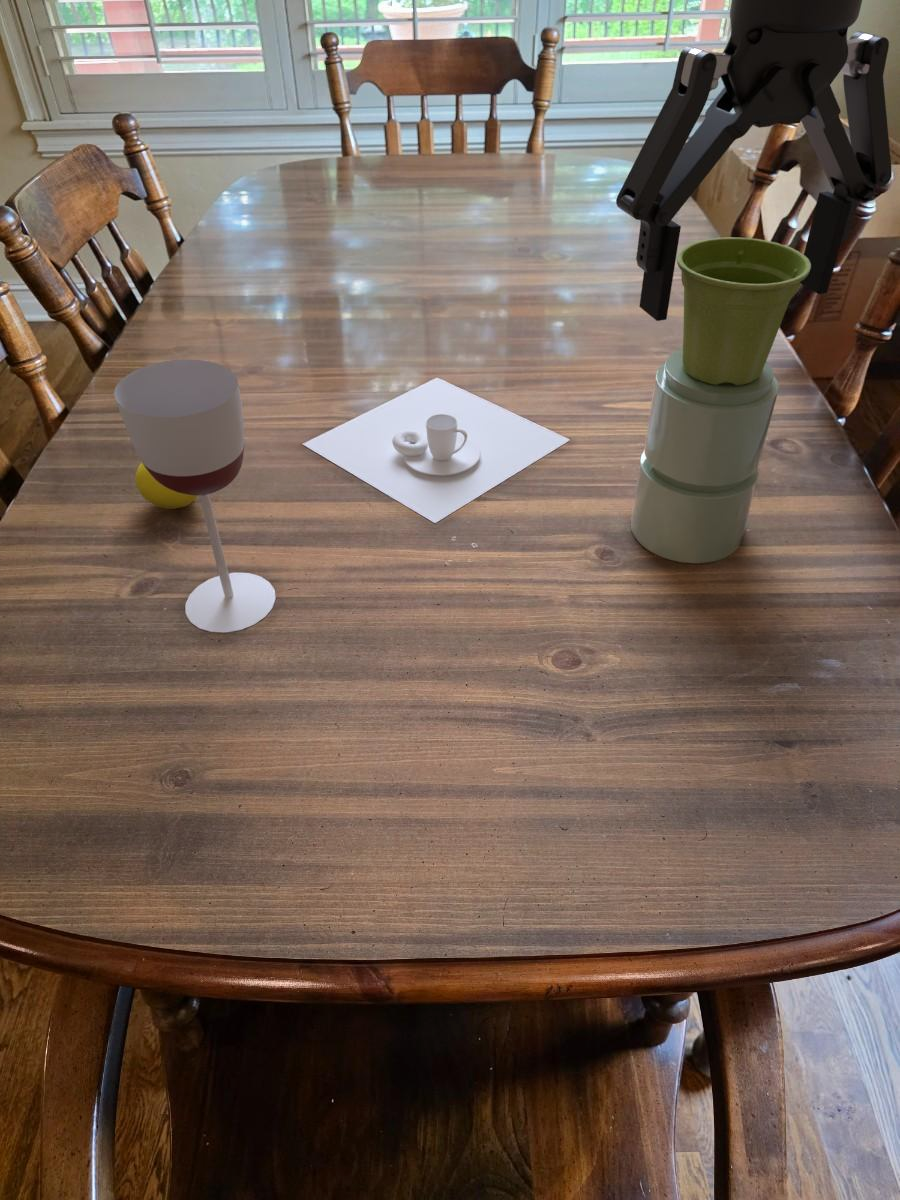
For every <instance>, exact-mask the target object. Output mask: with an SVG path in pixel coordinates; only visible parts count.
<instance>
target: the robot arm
mask: <svg viewBox="0 0 900 1200" xmlns="http://www.w3.org/2000/svg"><path fill="white" fill-rule="evenodd" d="M862 4H863V0H731V4H730V7H729V8H730V9H729V19H730V36H729V39H728V41H727V43H726V46H725V48H724V50H723V51H722V52H715V51H706V50H703V49H701V48H697V47H694V46H691V45H689V46H686V47H684V48H683V49H682V50H681V51H680V53H679V56H678V60H677V64H676V69H675V73H674V78H673V83H672V87H671V89H670V92H669V94H668V95H667V97H666V99H665V101H664V103H663V105H662V107H661V109H660V111H659V113H658V115H657V117H656V119H655V121H654V123H653V125H652V127H651V129H650V131H649V132H648V134H647V137H646V139H645V141H644V143H643V145H642V147H641V148H640V151H639V153H638V155H637V157H636V159H635V161H634V163H633V165H632V167H631V168H630V170H629V172H628V175H627V177H626V178H625V180H624V183H623V184H622V186H621V188H620V190H619V192H618V194H617V196H616V199H615V200H616V201H615V205H616V207H617V208H619V209H620V210H621V211H623V212H624V213H626V215H629V216H630V217H631V218H633V219H635V220H637V221H639V223H640V225H639V232H638V233H639V234H638V242H637V248H636V249H637V251H636V258H635V260H636V265H637V267H639V268H640V269H642V270H643V275H642V276H643V277H642V284H641V291H640V300H639V305H638V307H639V308H640V309H641V310H642V311H644V312H645V313H646V314H648V315H649V316H650V317H651V318H653V319H654V320H655V321H656V322H660V321H666V320H667V318H668V312H669V305H670V300H671V293H672V287H673V280H674V273H675V266H676V262H677V256H678V247H679V241H680V236H681V235H680V234H681V229H682V226H681V225H679V224H678V223H677V222H675V221H673V219H674V217H675V216H676V215H677V214H678V212H679V211H680V210H681V209H682V207H683V206H684V205H685V203H687V201H688V200H689V199H690V198H691V196H693V194H694V192H695V191H696V190H697V189H698V187H699V186H700V185H701V184H702V182H703V181H704V180H705V178H706V177H707V176H708V175H709V173H710V172H711V171H712V170H713V169H714V167H715V166H716V165H717V163H718V162H719V161H720V160H721V158H722V157H723V156H724V154H725V153H726V152H727V151H728V150H729V149H730V147H731V146H732V144H733V143H734V142H735V141H736V140H739V139H740V138H742V137H744V136H746V134H747V133H748V132H749V131H750V129H751V128H752V127H753V126H754V127H757V128H759V129H760V128H761V129H762V128H769V127H772V126H774V125H776V124H778V123H784V124H788V125H793V124H794V125H795V124H802V126H803V128H804V131H805V132H806V134H807V137H808V139H809V141H810V144H811V145H812V148H813V150H814V152H815V154H816V156H817V159H818V161H819V164H820V165H821V167H822V169H823V172H824V174H825V177H826V178H827V180H828V182H829V186H830V187H831V189H832V190H833V192H831V191H828V190H827V191H819V192H818V196H817V200H816V204H815V208H814V212H813V216H812V219H811V223H810V229H809V231H808V236H807V240H806V244H805V248H804V252H803V255H804V256H806V257H807V258H808V259H809V261H810V263H811V269H810V272H809V274H808V276H807V277H806V278H805V279H804V280H802V281H801V282H800V284H801V285H802V286H804V287H806V288H808V290H811V291H812V292H814V293H815V294H817V295H823V294H828V290H829V287H830V283H831V281H832V277H833V273H834V270H835V267H836V262H837V259H838V256H839V251H840V248H841V244H845V243H846V242H847V240H848V238H849V237H850V233H851V230H852V227H853V224H854V219H855V216H856V213H857V210H858V205H859V202H860V203H863V204H865V203H868V202H869V201H871V200H872V198H874V195H875V192H876V189H875V188H876V187H879V188H883V187H885V186H887V185H888V184H889V182H890V181H891V179H892V175H893V170H892V159H891V149H890V137H889V127H888V116H887V105H886V95H885V93H886V92H885V83H884V74H885V68H886V64H887V57H888V52H889V47H890V42H889V39H888V38H887V37H886V36H881V35H877V34H872V33H869V32H864V31H855V32H854V33H853V34H851V36H850V37H849V39H848V30H849V28H850V27H852V26H853V25H854V24H855V23H856V22H857V20H858V18H859V16H860V12H861V7H862ZM841 72H842V74H843V76H842V81H843V91H844V100H845V107H846V117H847V123H848V124H847V125H848V132H849V137H848V135H847V132H846V129H845V127H844V125H843V123H842V120H841V118H840V114H841V108H840V106H839V103H838V101H837V99H836V96H835V93H834V92H833V89H832V86H831V84H833V82H834V80H835V79H836V78H837V77H838V75H839V74H840V73H841ZM719 79H721V81H722V84H723V86H724V87H723V88H722V89H721V90H720V92H719V93H718V95H716V97H715V99H714V100H713V101H712V102H711V104H710V105H709V106H708V107H707V109H706V111H705V113H704V119H703V121H702V122H701V123H700V125H699V126H698V127H697V129H696V130H695V132H693V129H694V127H695V126H696V123H697V122H698V120H699V118H700V117H701V115H702V113H703V110H704V108H705V106H706V103H707V101H708V98H709V96H710V92H711V91H712V90H716V89H717V88H718V86H719ZM732 110H733V111H734V113H732ZM692 132H693V133H692ZM691 133H692V135H691ZM690 135H691V136H690ZM689 137H690V138H689Z"/></svg>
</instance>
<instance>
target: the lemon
mask: <svg viewBox="0 0 900 1200" xmlns="http://www.w3.org/2000/svg"><path fill="white" fill-rule="evenodd" d="M134 476H135V477H134V479H135V480H134V481H135V483H136V487H137V490H138V491H139V492H140V494H141V496H142V498H144V499H145V500H146V501H148V502H149V503H150V504H152V505H153V506H155V507H158V508H163V509H167V510H168V509H169V510H175V509H180V508H185V507H187V506H188V505H190V504H192V502H194V501H196V499H197V498H198V497H199V495H188V494H183V493H179V492H176V491H173V490H171V489H169V488H167V487H165V486H163V485H162V484H160V483H159V482H158V481H157V480H155V479H154V477H153V476H152V475H151V474H150V473H149V472H148V470H147V469H146V468H145V466H144V465H143V463H142V462H141V463H140V464H139V465H138V468H137V469H136V471H135V475H134Z"/></svg>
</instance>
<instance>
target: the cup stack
mask: <svg viewBox="0 0 900 1200" xmlns="http://www.w3.org/2000/svg"><path fill="white" fill-rule="evenodd" d="M682 358H683V348H680V349H677V350H675V351H673V352H672V353H671V354H669V356H667V358H666V360H665V362H663V363H662V364H661V365H659V367H658V368H657V370H656V372H655V377H654V384H653V389H652V397H651V403H650V409H649V414H648V415H649V416H648V420H647V421H648V422H647V428H646V435H645V442H644V446H643V447H644V448H643V451H642V452H641V454H640V459H639V465H638V471H637V477H636V484H635V485H636V486H635V491H634V498H633V505H632V511H631V515H630V530H631V532H632V535H633V538H635V540H636V541H637V542H638V543H639V544H640V545H641V546H642V547H643V548H645V550H648V551H649V552H651V553H652V554H654V555H657V556H659V557H661V558H663V559H667V560H670V561H674V562H678V563H685V564H706V563H707V564H708V563H713V562H717V561H720V560H723V559H725V558H728V557H729V556H731V555H732V554H733V553H734V552H736V550H737V549H738V548H739V547H740V545H741V543H742V539H743V536H744V531H745V528H746V524H747V520H748V518H749V514H750V509H751V506H752V503H753V498H754V495H755V490H756V487H757V483H758V480H759V477H760V476H759V475H760V470H759V466H760V463H761V458H762V454H763V451H764V447H765V443H766V439H767V435H768V432H769V428H770V424H771V421H772V416H773V412H774V409H775V405H776V401H777V398H778V394H779V390H780V386H779V381H778V379H777V377H776V376H775V371H774V369H773V367H772V366H771V364H769V362H767V361H766V363H765V365H764V368H763V371H762V373H761V375H760V376H759V377H758V378H757V379H756V380H754V381H752V382H750V383H747V384H743V385H735V384H733V383H728V382H725V383H720V384H718V385H715V384H709V383H706V382H703V381H700V380H698V379H696V378H693V377H692V376H690V375H689V374H688V373H687V372H686V371H685V369H684V365H683V361H682Z"/></svg>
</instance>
